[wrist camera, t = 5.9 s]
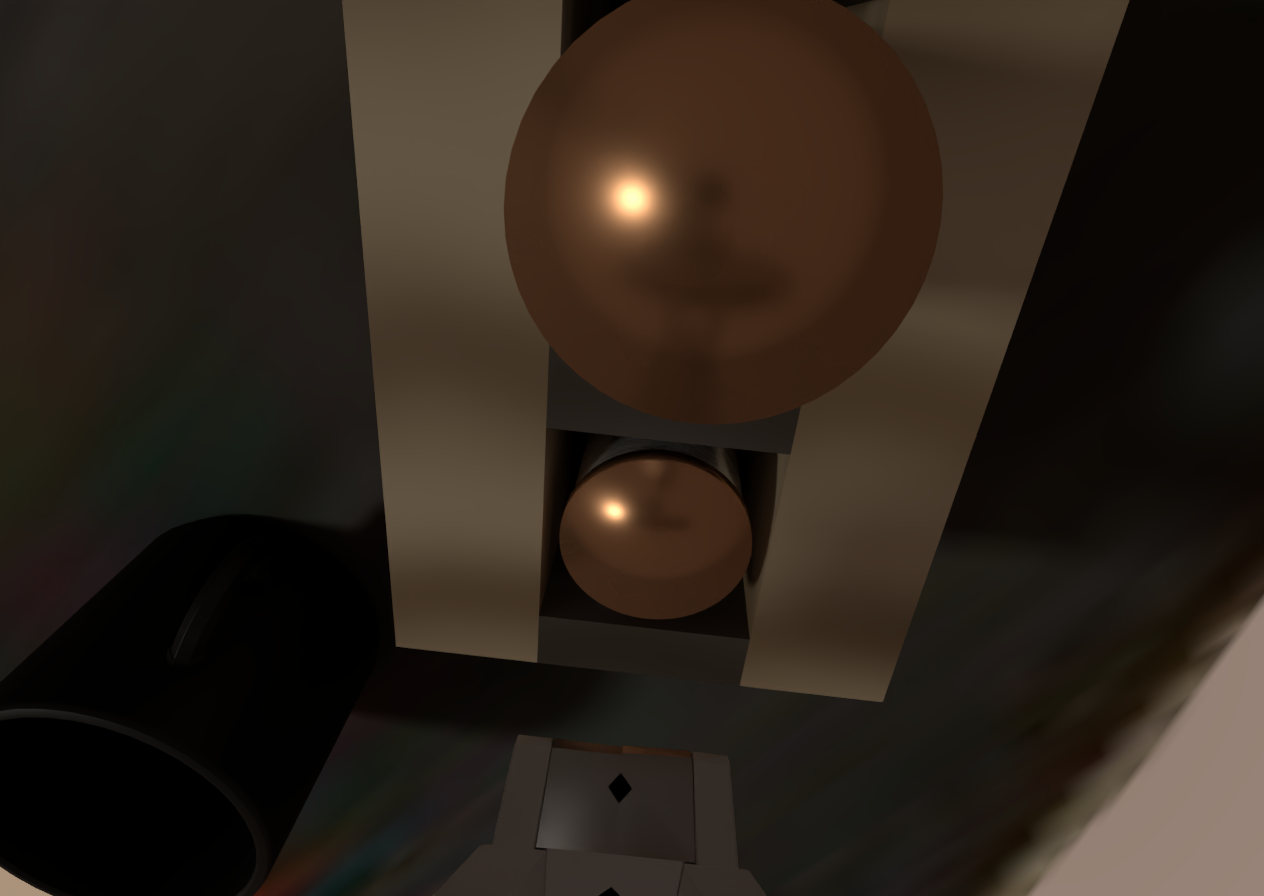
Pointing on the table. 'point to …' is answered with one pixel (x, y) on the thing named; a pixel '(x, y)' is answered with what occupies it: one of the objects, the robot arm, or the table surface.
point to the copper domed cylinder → (723, 204)
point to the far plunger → (656, 526)
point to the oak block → (766, 448)
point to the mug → (182, 716)
